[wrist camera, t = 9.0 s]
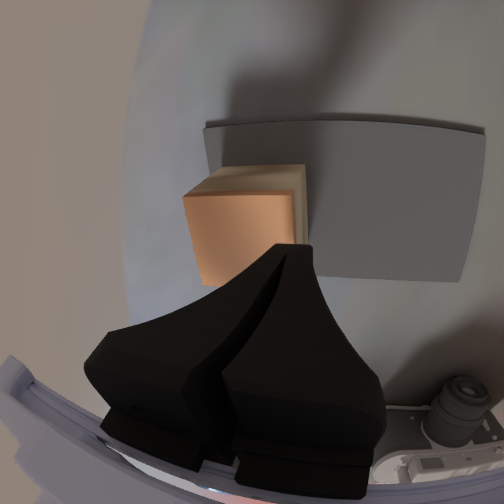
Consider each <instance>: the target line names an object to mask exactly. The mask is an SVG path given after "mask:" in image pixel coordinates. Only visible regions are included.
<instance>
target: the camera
mask: <svg viewBox="0 0 504 504" xmlns="http://www.w3.org/2000/svg"><path fill="white" fill-rule="evenodd" d="M490 403H491V396H490V394H489V392H488V390H487V388H486V387H485V386H484V385H483V384H482V383H481V382H479V381H477V380H476V379H472V378H469V377H463V376H460V377H456V378H451V379H449V380H447V381H446V382H445V384H444V386H443V390H442V392H441V393H440V394H439V395H437V396H435V397H434V399H433V400H432V402H431V407H430V406H428V405H423V406H420V407H413V406H394V405H386V412H387V428H386V431H385V434H384V435H383V437H382V438H381V440H380V442H379V443H378V445H377V446H376V448H375V449H374V458H373V464H372V469H373V477H374V479H375V480H376V481H377V482H380V483H399V484H401V483H415V482H426V481H435V480H442V479H449V478H455V477H461V476H466V475H471V474H476V473H481V472H485V471H489V470H493V469H497V468H501V467H504V429H503V428H502V426H501V425H500V423H499V422H498V421H497V419H496V418H495V416H494V415H493V414H492V412H491V411H490V409H489V408H488V406H489V405H490Z"/></svg>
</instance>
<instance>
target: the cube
mask: <svg viewBox="0 0 504 504" xmlns="http://www.w3.org/2000/svg"><path fill="white" fill-rule="evenodd" d="M182 199H183V203H184V208H185V212H186V217H187V222H188V226H189V230H190V235H191V239H192V243H193V248H194V252H195V256H196V260H197V264H198V268H199V272H200V276H201V280H202V284H203V285H210V286H220V287H221V286H223V285H224V284H226V283H227V282H228V281H230V280H231V279H233V278H234V277H235V276H237V275H238V274H239V273H241V272H242V271H243V270H245V269H246V268H247V267H248V266H250V265H251V264H252V263H253V262H254V261H256V260H257V259H258V258H259V257H260V256H262V255H263V254H264V253H265V252H266V251H267V250H268V249H270V248H271V247H272V246H273V245H274V244H276V243H284V244H308V217H307V192H306V172H305V164H297V165H252V166H230V167H221V168H219V169H218V170H217V171H215V172H214V173H213V174H211V175H210V176H209V177H207V178H206V179H205V180H204V181H202V182H201V183H200V184H198V185H197V186H196V187H194V188H193V189H192V190H191V191H189V192H188V193H187V194H186V195H184V196H183V197H182Z"/></svg>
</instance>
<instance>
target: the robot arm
mask: <svg viewBox="0 0 504 504" xmlns="http://www.w3.org/2000/svg"><path fill="white" fill-rule="evenodd" d="M84 371H85V374H86V376H87V378H88V379H89V381H90V383H91V384H92V385H93V387H94V388H95V389H96V390H97V391H98V393H99V394H100V395H101V396H102V398H103V399H104V400H105V401H106V402H107V403H108V404H109V406H110V407H111V409H110V410H109V412H108V413H107V415H106V416H105V418H104V419H102V418H100V417H98V416H96V415H94V414H93V413H91V412H89V411H87V410H85V409H83V408H82V407H80V406H78V405H76V404H75V403H73V402H71V401H69V400H68V399H66V398H64V397H63V396H61V395H60V394H58V393H56V392H55V391H53V390H52V389H50V388H48V387H47V386H46V385H44V384H43V383H41V382H40V381H38V380H36V379H35V378H34V376H33V374H32V373H31V372H30V371H29V369H28V368H27V367H26V366H25V365H24V364H23V363H22V362H20V361H19V360H17V359H16V358H15V357H13V356H12V355H9V356H8V357H7V359H6V360H5V361H4V362H3V363H2V365H1V366H0V421H1V422H2V423H3V425H4V426H5V427H6V429H7V430H8V431H9V432H10V433H11V435H12V436H13V437H14V438H15V440H16V441H17V442H18V443H19V444H20V445H21V446H20V448H19V449H18V451H17V452H16V454H15V455H14V458H15V461H16V464H17V465H18V466H19V467H20V468H21V469H22V471H23V472H24V473H25V474H26V475H27V476H28V477H29V478H30V479H31V480H32V481H33V482H34V483H35V484H37V485H38V486H39V487H40V488H41V489H42V491H41V492H40V494H39V496H38V498H37V499H36V501H35V503H34V504H224V503H221V502H218V501H215V500H212V499H209V498H206V497H203V496H200V495H197V494H194V493H192V492H189V491H186V490H184V489H181V488H178V487H176V486H173V485H171V484H168V483H166V482H163V481H161V480H158V479H156V478H154V477H152V476H149V475H147V474H146V473H144V472H143V471H141V470H139V469H138V468H136V467H135V466H134V465H132V464H131V463H129V462H128V461H127V460H126V459H125V458H124V457H122V455H121V454H119V453H117V452H116V451H114V450H112V449H111V448H109V447H108V446H110V447H112V448H113V449H115V450H117V451H119V452H121V453H123V454H125V455H127V456H129V457H131V458H134V459H136V460H138V461H140V462H142V463H145V464H147V465H149V466H151V467H154V468H156V469H159V470H161V471H164V472H166V473H169V474H171V475H174V476H176V477H179V478H182V479H185V480H187V481H190V482H193V483H196V484H199V485H202V486H206V487H209V488H212V489H216V490H219V491H223V492H226V493H230V494H234V495H238V496H242V497H247V498H251V499H255V500H261V501H265V502H271V503H277V504H504V467H501V468H497V469H493V470H489V471H485V472H481V473H476V474H471V475H466V476H461V477H455V478H449V479H442V480H435V481H426V482H415V483H401V484H368V479H369V472H370V467H371V466H372V464H373V458H374V449H375V448H376V446H377V445H378V443H379V442H380V440H381V438H382V437H383V435H384V434H385V431H386V428H387V412H386V405H385V400H384V396H383V392H382V388H381V385H380V382H379V378H378V376H377V375H376V374H375V373H374V372H373V371H372V370H371V369H370V368H369V366H368V365H367V364H366V363H365V362H364V361H363V359H362V358H361V357H360V356H359V354H358V353H357V352H356V351H355V349H354V348H353V347H352V345H351V344H350V343H349V341H348V340H347V338H346V336H345V335H344V333H343V332H342V330H341V329H340V327H339V326H338V324H337V323H336V321H335V319H334V317H333V315H332V314H331V312H330V310H329V308H328V306H327V304H326V301H325V299H324V297H323V294H322V292H321V289H320V287H319V284H318V281H317V277H316V274H315V270H314V266H313V247H312V246H311V245H308V244H284V243H276V244H274V245H273V246H272V247H271V248H270V249H268V250H267V251H266V252H265V253H264V254H263V255H262V256H260V257H259V258H258V259H257V260H256V261H254V262H253V263H252V264H251V265H250V266H248V267H247V268H246V269H245V270H243V271H242V272H241V273H239V274H238V275H237V276H235V277H234V278H233V279H231V280H230V281H228V282H227V283H226V284H224V285H223V286H221V287H220V288H218V289H216V290H215V291H213V292H212V293H210V294H208V295H206V296H205V297H203V298H201V299H199V300H197V301H195V302H193V303H191V304H189V305H187V306H185V307H183V308H181V309H178V310H176V311H174V312H172V313H169V314H167V315H164V316H162V317H159V318H156V319H153V320H150V321H148V322H144V323H141V324H138V325H134V326H130V327H127V328H123V329H119V330H115V331H111V332H108V333H107V335H106V336H105V337H104V339H103V340H102V341H101V342H100V343H99V345H98V346H97V347H96V349H95V350H94V351H93V352H92V354H91V355H90V356H89V358H88V359H87V360H86V361H85V363H84ZM106 445H108V446H106Z"/></svg>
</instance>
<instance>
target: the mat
mask: <svg viewBox="0 0 504 504" xmlns="http://www.w3.org/2000/svg"><path fill="white" fill-rule="evenodd" d="M203 134H204V140H205V147H206V153H207V159H208V165H209V171H210V175H211V174H213V173H214V172H215V171H217V170H218V169H219V168H221V167H230V166H252V165H297V164H305V172H306V192H307V217H308V245H311V246H312V247H313V266H314V270H315V274H316V276H327V277H345V278H364V279H385V280H408V281H434V282H459V280H460V277H461V274H462V270H463V267H464V263H465V260H466V256H467V252H468V248H469V244H470V240H471V236H472V232H473V227H474V223H475V218H476V212H477V207H478V201H479V195H480V189H481V182H482V174H483V166H484V155H485V142H486V135H484V134H478V133H473V132H467V131H461V130H455V129H448V128H441V127H434V126H425V125H416V124H406V123H394V122H379V121H356V120H299V121H276V122H260V123H248V124H237V125H227V126H218V127H210V128H204V129H203Z"/></svg>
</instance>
